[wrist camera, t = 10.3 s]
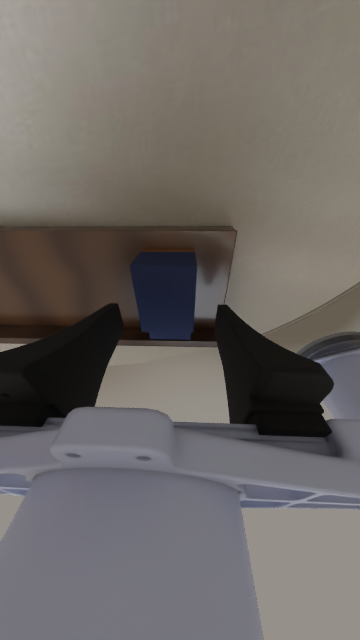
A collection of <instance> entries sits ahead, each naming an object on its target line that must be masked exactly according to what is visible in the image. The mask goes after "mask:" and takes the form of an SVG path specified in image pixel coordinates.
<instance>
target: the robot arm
mask: <svg viewBox="0 0 360 640" xmlns="http://www.w3.org/2000/svg"><path fill="white" fill-rule="evenodd" d="M123 327H124V324H123V320H122V316H121V312H120V309H119V305H118V303H109V304H107V305H105V306H104V307H102V308H101V309H99V310H97V311H96V312H94V313H93V314H91V315H89V316H88V317H86V318H84V319H83V320H81V321H79V322H77V323H76V324H74V325H72V326H70V327H68V328H66V329H64V330H62V331H60V332H58V333H55V334H53V335H51V336H48V337H46V338H43V339H41V340H38V341H35V342H32V343H30V344H27V345H23V346H20V347H17V348H14V349H10V350H7V351H3V352H0V494H9V495H20V496H25V497H24V499H23V501H22V503H21V505H20V507H19V509H18V510H17V512H16V514H15V516H14V518H13V520H12V522H11V523H10V525H9V527H8V529H7V531H6V533H5V535H4V537H3V538H2V540H1V542H0V640H264V639H263V633H262V627H261V621H260V615H259V609H258V604H257V598H256V592H255V586H254V580H253V575H252V569H251V563H250V558H249V552H248V546H247V540H246V534H245V528H244V522H243V516H242V511H241V508H309V509H311V508H312V509H317V508H318V509H352V510H360V348H357V349H352V350H348V351H344V352H340V353H336V354H332V355H327V356H323V357H319V358H315V359H311V360H310V359H308V358H305V357H303V356H300V355H298V354H295V353H294V352H291V351H289V350H287V349H285V348H283V347H281V346H279V345H278V344H276V343H273V342H272V341H270V340H269V339H267V338H265V337H264V336H262V335H261V334H260V333H258V332H257V331H255V330H254V329H253V328H251V327H250V326H249V325H248V324H246V323H245V322H244V321H243V320H242V319H241V318H240V317H239V316H237V315H236V314H235V313H234V312H233V311H232V310H231V309H230V308H229V307H228V306H227V305H218V306H217V313H216V319H215V326H214V328H215V337H216V342H217V346H218V349H219V353H220V357H221V360H222V365H223V370H224V377H225V383H226V391H227V399H228V407H229V417H230V424H224V423H223V424H222V423H195V422H172V420H171V419H170V417H169V416H168V415H166V414H165V413H162V412H160V411H158V410H151V409H144V408H142V409H141V408H114V407H113V408H112V407H95V403H96V399H97V396H98V392H99V389H100V386H101V382H102V379H103V376H104V373H105V370H106V368H107V365H108V363H109V360H110V358H111V356H112V354H113V352H114V350H115V348H116V346H117V344H118V341H119V339H120V337H121V334H122V331H123ZM322 400H323V402H324V403H325V405H326V406H327V408H328V409H329V411H330V412H331V414H332V415H333V417H334V418H335V419H330V420H327V421H325V419H324V418H323V416H322V413H323V412H324V410H323V408H322V406H321V405H320V403H321V401H322Z"/></svg>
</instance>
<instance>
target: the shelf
mask: <svg viewBox="0 0 360 640" xmlns="http://www.w3.org/2000/svg"><path fill="white" fill-rule="evenodd" d="M236 235H237V230H235V229H234V228H233V227H231V226H188V227H0V343H13V344H30V343H32V342H35V341H38V340H41V339H43V338H46V337H48V336H51V335H53V334H55V333H58V332H60V331H62V330H64V329H66V328H68V327H70V326H72V325H74V324H76V323H77V322H79V321H81V320H83V319H84V318H86V317H88V316H89V315H91V314H93V313H94V312H96V311H97V310H99V309H101V308H102V307H104V306H105V305H107V304H109V303H118V305H119V309H120V312H121V316H122V320H123V324H124V327H123V331H122V334H121V337H120V339H119V341H118V344H117V345H121V346H176V347H218V346H217V342H216V337H215V328H214V326H215V319H216V313H217V306H218V305H224V302H225V297H226V291H227V286H228V280H229V274H230V269H231V263H232V258H233V252H234V247H235V241H236ZM143 248H194V249H195V255H196V262H197V279H196V297H195V314H194V332H193V333H191V339H190V340H184V339H150V335H149V332H142V330H141V325H140V319H139V314H138V309H137V304H136V298H135V293H134V288H133V282H132V277H131V272H130V267H129V266H130V264H131V263H132V262H133V261H134V259H135V258H136V257H137V256H138V254H139V253H140V252H141V251H142V249H143Z"/></svg>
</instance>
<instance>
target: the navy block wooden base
mask: <svg viewBox="0 0 360 640" xmlns="http://www.w3.org/2000/svg"><path fill="white" fill-rule="evenodd" d="M129 267H130V272H131V277H132V282H133V288H134V293H135V298H136V304H137V309H138V314H139V319H140V325H141V330H142V332H149V335H150V339H184V340H190V339H191V333H193V332H194V314H195V297H196V279H197V262H196V255H195V249H194V248H143V249H142V251H141V252H140V253H139V254H138V256H137V257H136V258H135V259H134V261H133V262H132V263H131V264H130V266H129Z"/></svg>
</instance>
